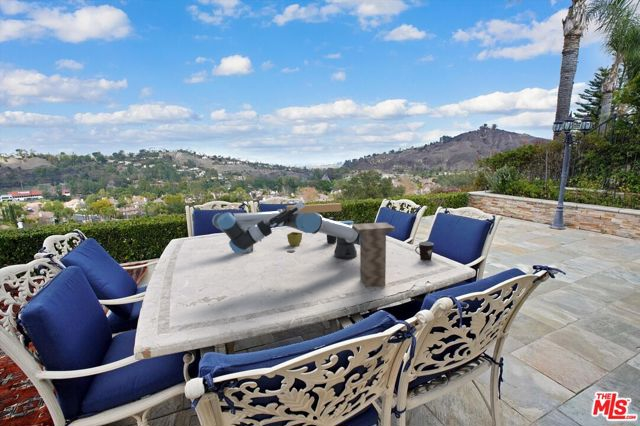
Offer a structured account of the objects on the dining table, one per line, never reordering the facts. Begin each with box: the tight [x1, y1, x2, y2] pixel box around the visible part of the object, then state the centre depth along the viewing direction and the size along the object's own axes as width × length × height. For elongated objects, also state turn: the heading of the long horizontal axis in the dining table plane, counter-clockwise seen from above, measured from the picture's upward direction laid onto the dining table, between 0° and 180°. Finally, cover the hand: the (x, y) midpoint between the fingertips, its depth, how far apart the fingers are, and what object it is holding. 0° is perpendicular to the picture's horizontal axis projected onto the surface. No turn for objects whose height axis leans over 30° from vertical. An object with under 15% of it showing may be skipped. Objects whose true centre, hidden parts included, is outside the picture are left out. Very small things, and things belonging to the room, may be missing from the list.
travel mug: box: [326, 215, 337, 245], centre depth 219 cm, size 8×8×20 cm
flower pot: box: [286, 231, 303, 247], centre depth 217 cm, size 9×9×9 cm
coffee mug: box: [414, 241, 434, 261], centre depth 179 cm, size 12×9×10 cm
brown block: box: [286, 202, 343, 214], centre depth 136 cm, size 26×3×4 cm, turn 98°
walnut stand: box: [352, 222, 396, 288], centre depth 144 cm, size 18×12×30 cm, turn 98°
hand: (302, 203), depth 135 cm, fingers closed on brown block, 3 cm apart
